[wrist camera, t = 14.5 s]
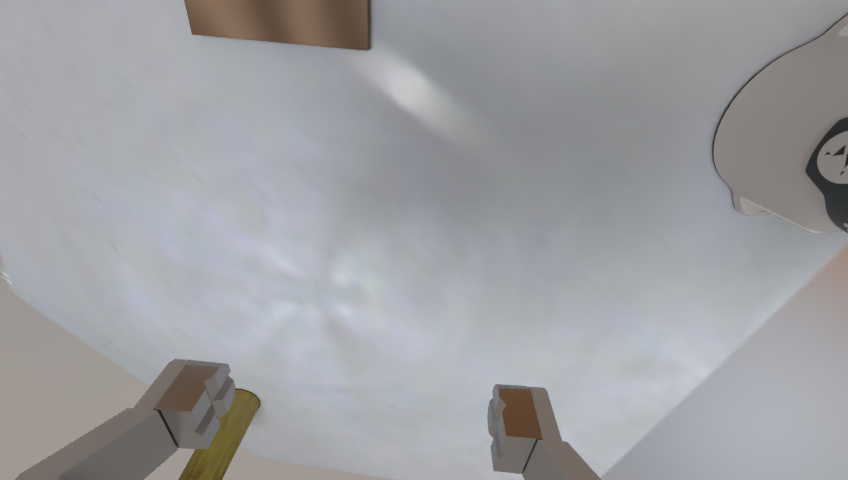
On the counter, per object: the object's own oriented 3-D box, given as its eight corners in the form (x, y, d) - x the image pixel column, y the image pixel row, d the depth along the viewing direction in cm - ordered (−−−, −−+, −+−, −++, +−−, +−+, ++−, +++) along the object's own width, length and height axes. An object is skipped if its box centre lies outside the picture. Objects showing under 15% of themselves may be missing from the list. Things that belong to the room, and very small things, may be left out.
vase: (250, 386, 58) (200, 483, 46) (266, 409, 61) (224, 505, 49) (216, 390, 59) (159, 486, 47) (234, 412, 62) (184, 508, 50)
